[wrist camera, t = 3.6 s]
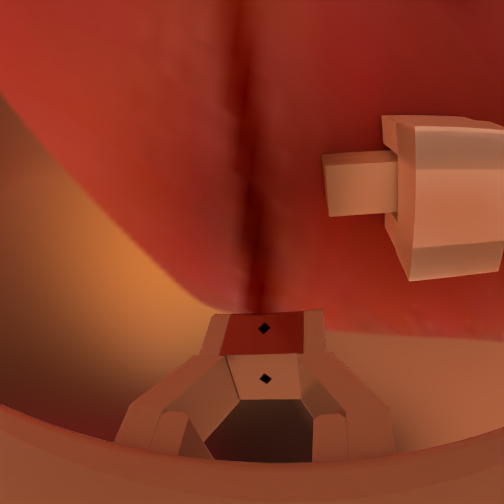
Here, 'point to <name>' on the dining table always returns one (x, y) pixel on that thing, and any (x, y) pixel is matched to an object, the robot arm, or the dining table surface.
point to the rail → (361, 182)
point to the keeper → (446, 195)
